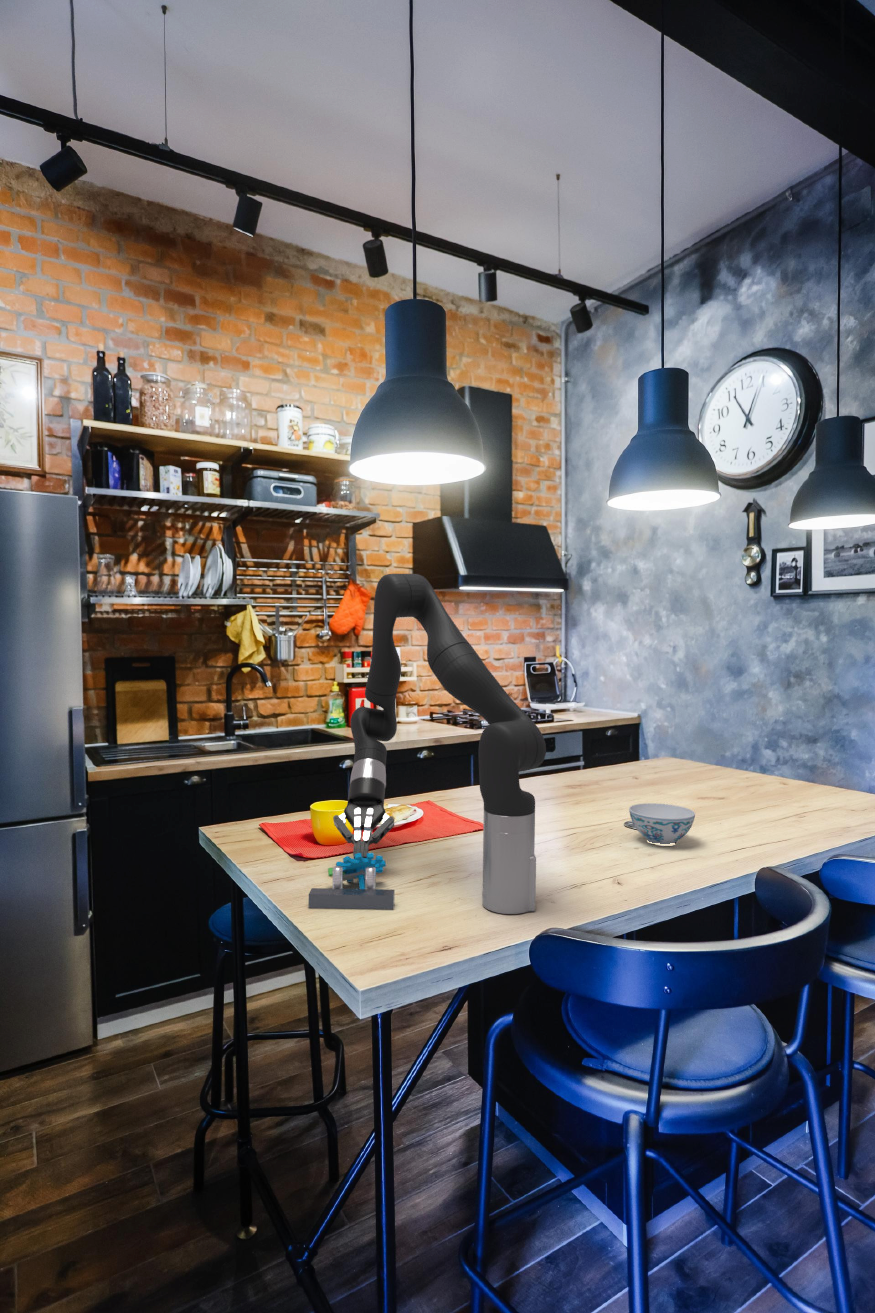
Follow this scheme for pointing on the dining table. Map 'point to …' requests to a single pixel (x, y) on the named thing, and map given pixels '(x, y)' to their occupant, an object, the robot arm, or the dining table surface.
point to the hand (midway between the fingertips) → (360, 861)
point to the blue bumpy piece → (359, 867)
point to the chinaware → (661, 821)
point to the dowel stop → (352, 894)
